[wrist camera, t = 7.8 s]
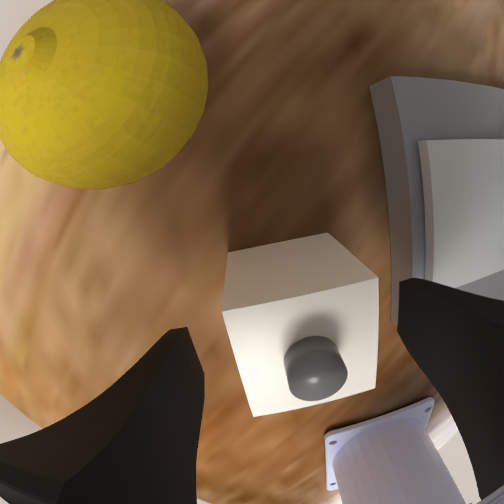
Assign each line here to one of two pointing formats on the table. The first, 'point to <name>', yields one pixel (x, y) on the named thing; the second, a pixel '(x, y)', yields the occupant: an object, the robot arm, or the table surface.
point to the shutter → (463, 209)
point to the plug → (301, 322)
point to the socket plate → (409, 165)
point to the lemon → (101, 91)
